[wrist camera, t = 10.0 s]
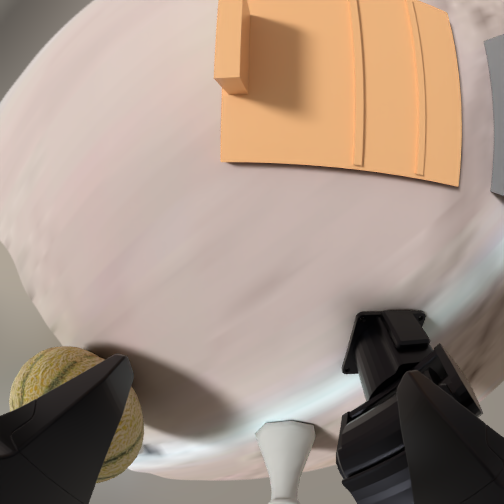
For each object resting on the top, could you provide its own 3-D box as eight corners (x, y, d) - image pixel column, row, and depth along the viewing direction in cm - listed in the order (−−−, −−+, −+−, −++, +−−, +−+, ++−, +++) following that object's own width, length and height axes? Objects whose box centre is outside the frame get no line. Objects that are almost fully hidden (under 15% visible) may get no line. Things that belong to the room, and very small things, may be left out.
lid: (448, 183, 16) (492, 197, 11) (224, 161, 17) (203, 165, 12) (439, 18, 11) (472, -4, 6) (231, -17, 12) (217, -57, 7)
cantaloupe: (103, 411, 29) (61, 488, 15) (39, 329, 25) (-30, 403, 11) (187, 411, 26) (151, 524, 12) (112, 307, 22) (13, 429, 8)
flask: (308, 447, 28) (310, 512, 18) (252, 445, 28) (245, 511, 19) (323, 419, 25) (330, 496, 16) (257, 416, 26) (249, 496, 16)
